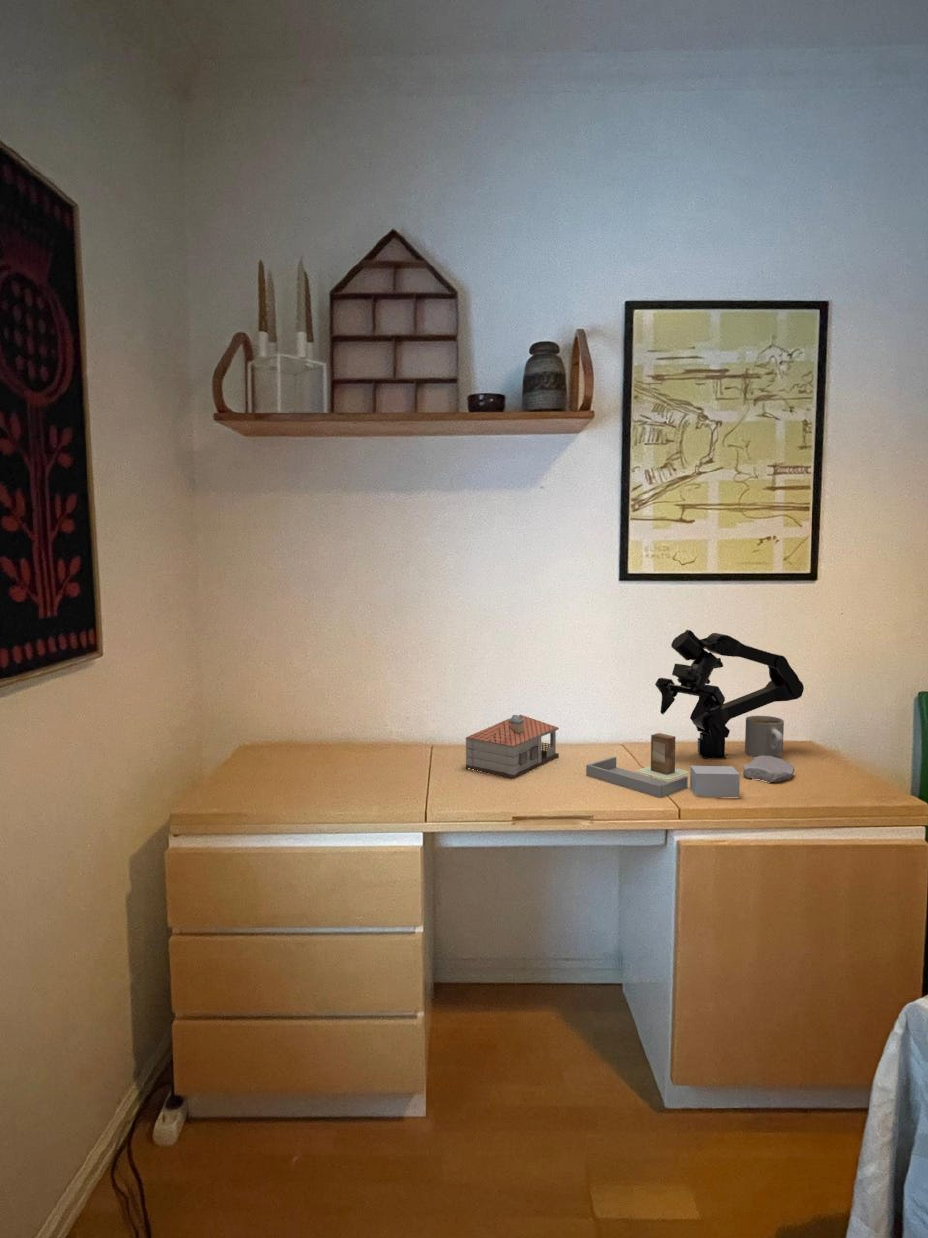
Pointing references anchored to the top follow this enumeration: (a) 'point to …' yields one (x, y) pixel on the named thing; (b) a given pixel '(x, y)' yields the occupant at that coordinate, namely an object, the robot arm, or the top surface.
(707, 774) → the greyblue box
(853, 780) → the top surface
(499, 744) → the model house
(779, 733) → the coffee mug
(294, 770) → the top surface
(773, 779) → the stone block
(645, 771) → the pad
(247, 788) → the top surface
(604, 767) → the parts tray
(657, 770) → the walnut box
